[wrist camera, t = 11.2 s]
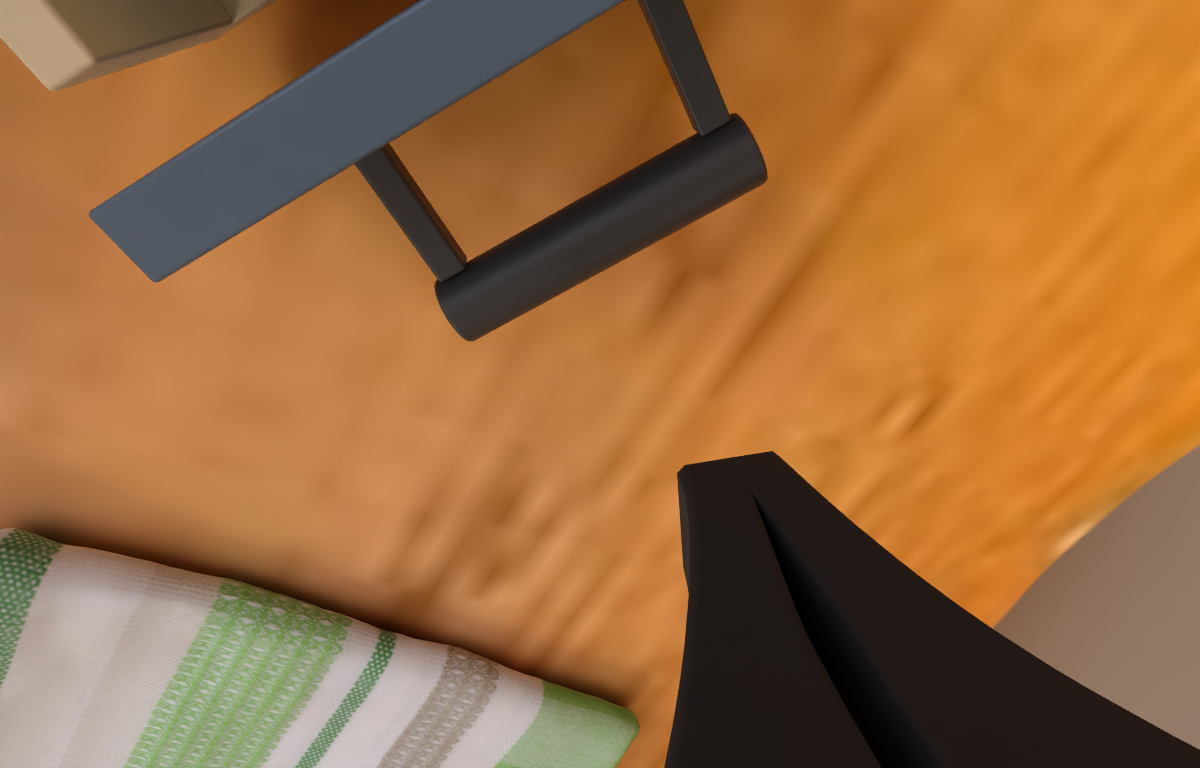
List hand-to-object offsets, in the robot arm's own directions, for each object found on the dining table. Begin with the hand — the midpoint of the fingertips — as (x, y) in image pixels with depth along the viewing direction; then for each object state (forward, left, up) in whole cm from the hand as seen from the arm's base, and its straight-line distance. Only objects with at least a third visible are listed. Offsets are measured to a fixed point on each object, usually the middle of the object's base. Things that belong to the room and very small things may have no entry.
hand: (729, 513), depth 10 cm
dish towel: (-23, -6, -11) cm, 26 cm away
